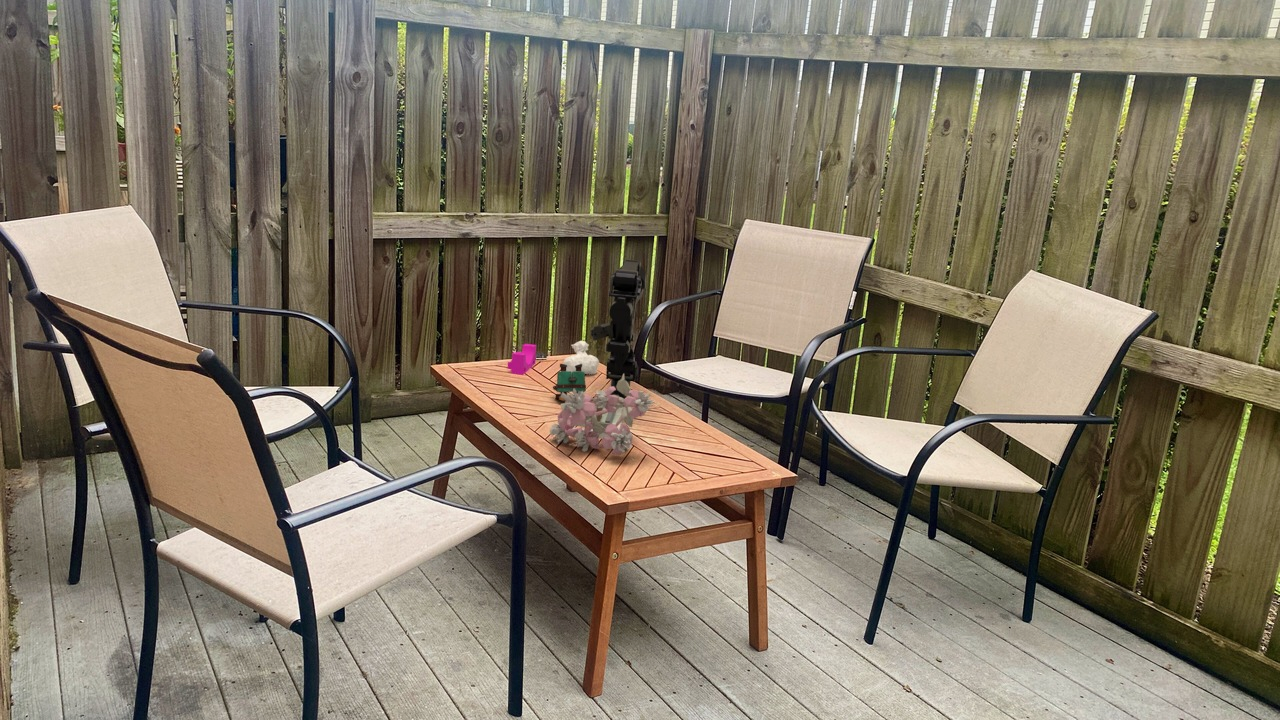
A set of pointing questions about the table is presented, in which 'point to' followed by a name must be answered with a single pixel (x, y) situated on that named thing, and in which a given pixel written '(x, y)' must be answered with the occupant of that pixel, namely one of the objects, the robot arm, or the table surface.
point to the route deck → (606, 419)
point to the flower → (587, 415)
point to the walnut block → (598, 411)
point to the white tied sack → (582, 359)
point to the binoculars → (569, 381)
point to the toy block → (523, 360)
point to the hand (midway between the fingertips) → (618, 370)
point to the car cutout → (540, 355)
